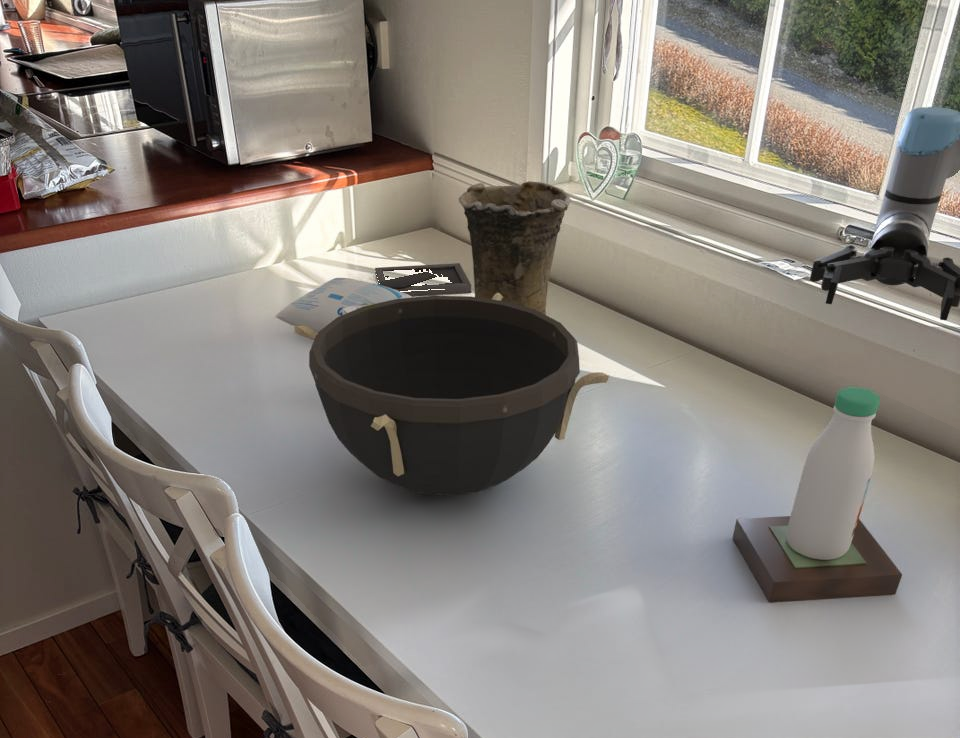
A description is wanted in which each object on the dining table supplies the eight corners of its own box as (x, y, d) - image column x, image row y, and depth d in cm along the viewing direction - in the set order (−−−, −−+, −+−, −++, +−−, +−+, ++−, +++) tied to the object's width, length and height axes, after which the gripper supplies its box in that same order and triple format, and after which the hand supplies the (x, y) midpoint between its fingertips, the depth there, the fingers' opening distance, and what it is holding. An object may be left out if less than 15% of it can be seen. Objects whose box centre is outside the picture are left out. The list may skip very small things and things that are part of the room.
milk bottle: (839, 568, 115) (887, 416, 102) (776, 549, 118) (815, 399, 105) (855, 538, 120) (902, 389, 107) (794, 520, 123) (833, 373, 110)
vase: (471, 375, 163) (472, 209, 146) (451, 334, 177) (449, 178, 160) (572, 366, 166) (584, 203, 149) (544, 327, 180) (553, 173, 163)
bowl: (373, 573, 118) (362, 426, 105) (290, 447, 143) (274, 316, 130) (617, 511, 130) (634, 372, 117) (502, 404, 155) (506, 280, 142)
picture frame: (382, 298, 190) (471, 292, 193) (382, 288, 189) (471, 282, 192) (375, 275, 200) (459, 270, 203) (374, 265, 199) (459, 261, 202)
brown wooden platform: (848, 531, 127) (854, 510, 125) (895, 594, 116) (903, 573, 114) (732, 538, 125) (736, 517, 123) (769, 602, 115) (774, 581, 113)
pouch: (363, 315, 163) (418, 275, 176) (271, 300, 169) (330, 262, 183) (368, 359, 168) (421, 317, 181) (278, 342, 174) (336, 303, 188)
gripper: (985, 289, 132) (986, 346, 116) (800, 265, 139) (778, 316, 123) (1005, 233, 127) (1008, 284, 112) (812, 211, 134) (791, 256, 119)
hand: (887, 301), depth 117 cm, fingers open, 13 cm apart
